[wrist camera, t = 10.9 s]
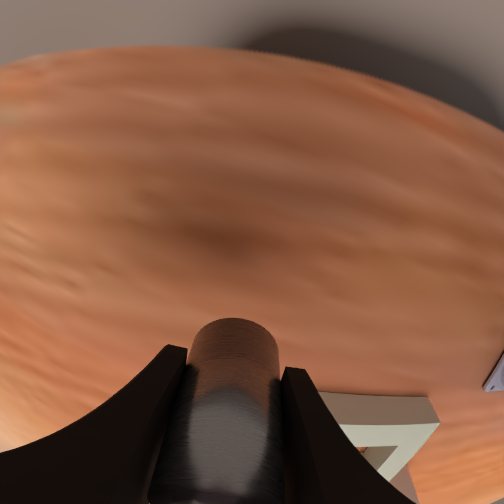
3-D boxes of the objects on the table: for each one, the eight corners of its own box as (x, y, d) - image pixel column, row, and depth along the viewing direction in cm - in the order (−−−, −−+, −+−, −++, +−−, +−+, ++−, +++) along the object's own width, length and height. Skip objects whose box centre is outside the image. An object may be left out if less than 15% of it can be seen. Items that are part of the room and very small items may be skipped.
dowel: (288, 326, 10) (304, 492, 5) (267, 390, 11) (267, 535, 6) (197, 309, 10) (142, 468, 4) (188, 375, 11) (150, 517, 6)
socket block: (427, 396, 20) (440, 422, 18) (374, 465, 24) (380, 489, 21) (311, 390, 20) (316, 423, 17) (275, 463, 23) (275, 491, 21)
